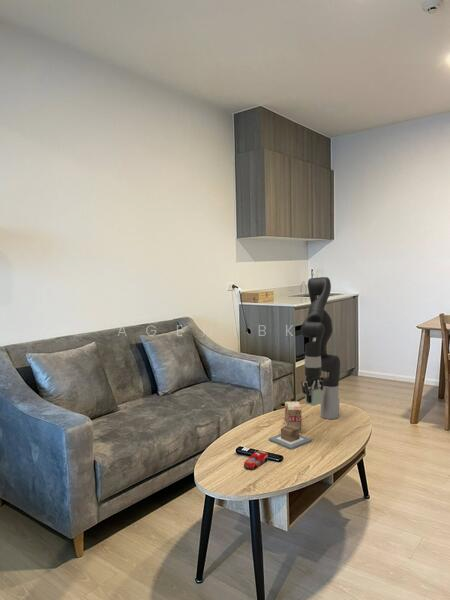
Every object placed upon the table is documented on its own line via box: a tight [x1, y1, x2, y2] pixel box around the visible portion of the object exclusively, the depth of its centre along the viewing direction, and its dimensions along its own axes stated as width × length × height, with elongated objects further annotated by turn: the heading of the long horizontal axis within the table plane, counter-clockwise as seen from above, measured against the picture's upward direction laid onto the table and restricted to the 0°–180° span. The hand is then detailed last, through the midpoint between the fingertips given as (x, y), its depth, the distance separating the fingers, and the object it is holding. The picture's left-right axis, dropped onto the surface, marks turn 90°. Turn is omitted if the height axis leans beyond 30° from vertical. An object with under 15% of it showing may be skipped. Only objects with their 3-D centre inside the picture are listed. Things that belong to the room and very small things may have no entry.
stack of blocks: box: [284, 401, 303, 434], centre depth 220 cm, size 21×6×12 cm, turn 177°
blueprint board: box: [268, 425, 313, 451], centre depth 201 cm, size 14×14×6 cm
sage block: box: [304, 387, 321, 407], centre depth 202 cm, size 5×5×7 cm
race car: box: [243, 450, 269, 470], centre depth 179 cm, size 13×5×4 cm, turn 141°
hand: (313, 401), depth 202 cm, fingers closed on sage block, 5 cm apart
